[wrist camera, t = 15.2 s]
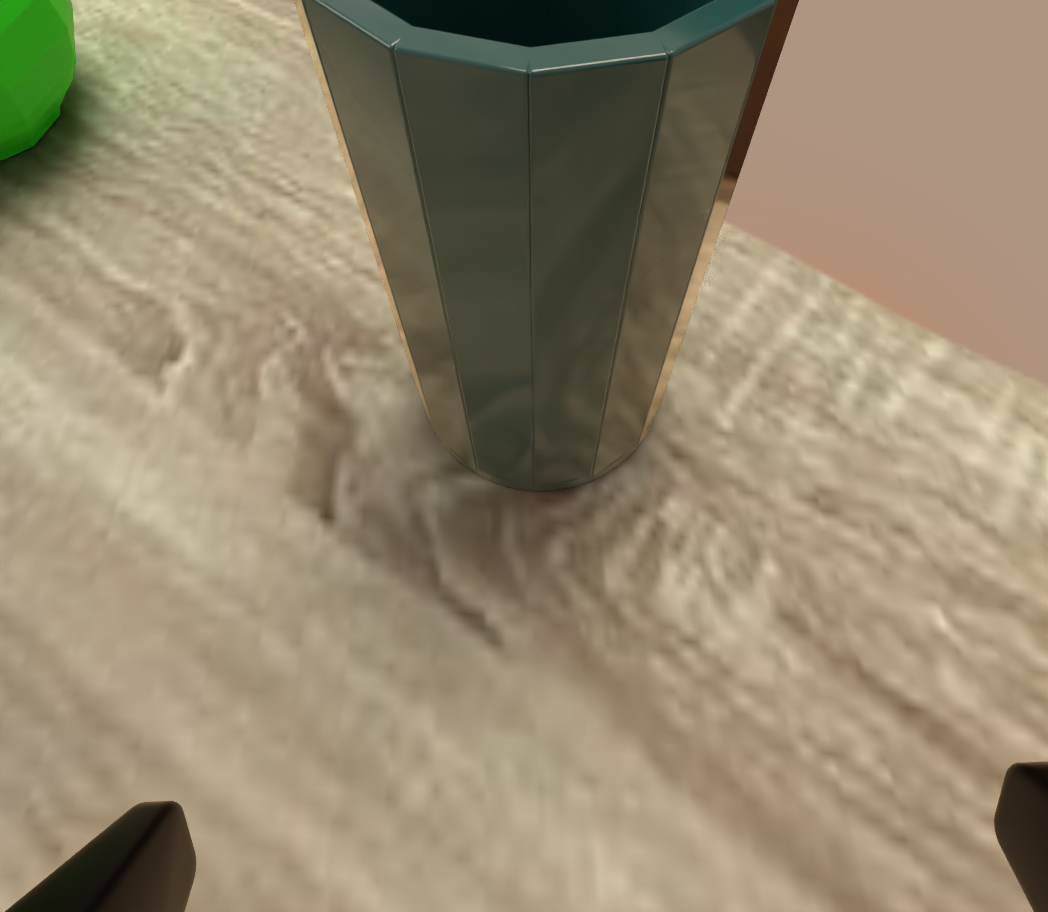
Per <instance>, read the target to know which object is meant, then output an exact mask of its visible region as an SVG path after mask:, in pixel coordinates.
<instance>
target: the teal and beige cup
mask: <svg viewBox="0 0 1048 912" xmlns="http://www.w3.org/2000/svg"><path fill="white" fill-rule="evenodd" d="M798 1H799V0H294V4H295V7H296V10H297V13H298V16H299V19H300V22H301V25H302V29H303V32H304V35H305V38H306V41H307V44H308V47H309V51H310V54H311V57H312V60H313V63H314V66H315V69H316V73H317V76H318V79H319V82H320V85H321V88H322V91H323V95H324V98H325V101H326V104H327V107H328V110H329V113H330V117H331V120H332V123H333V126H334V129H335V132H336V135H337V138H338V142H339V145H340V148H341V151H342V154H343V157H344V160H345V164H346V167H347V170H348V173H349V176H350V179H351V182H352V186H353V189H354V192H355V195H356V198H357V201H358V204H359V208H360V211H361V214H362V217H363V220H364V223H365V226H366V230H367V233H368V236H369V239H370V242H371V245H372V248H373V251H374V255H375V258H376V261H377V264H378V267H379V270H380V273H381V277H382V280H383V283H384V286H385V289H386V292H387V295H388V299H389V302H390V305H391V308H392V311H393V314H394V317H395V321H396V324H397V327H398V330H399V333H400V336H401V339H402V343H403V346H404V349H405V352H406V355H407V358H408V361H409V364H410V368H411V371H412V374H413V377H414V380H415V383H416V386H417V390H418V392H419V395H420V397H421V400H422V402H423V405H424V408H425V410H426V413H427V416H428V419H429V422H430V424H431V426H432V428H433V430H434V433H435V434H436V436H437V437H438V439H439V440H440V442H441V443H442V445H443V446H444V447H445V448H446V450H447V451H448V452H449V453H450V454H451V455H452V456H453V457H454V458H455V459H456V460H457V461H459V462H460V463H461V464H462V465H463V466H465V467H466V468H467V469H469V470H471V471H472V472H474V473H475V474H477V475H479V476H481V477H483V478H485V479H487V480H489V481H492V482H494V483H497V484H500V485H504V486H507V487H511V488H517V489H522V490H534V491H548V490H560V489H565V488H570V487H575V486H578V485H581V484H584V483H587V482H590V481H592V480H594V479H596V478H598V477H601V476H603V475H605V474H606V473H608V472H609V471H611V470H612V469H614V468H616V467H617V466H618V465H619V464H621V463H622V462H623V461H624V460H625V459H626V458H628V457H629V456H630V455H631V453H632V452H633V451H634V450H635V449H636V448H637V447H638V446H639V444H640V443H641V441H642V440H643V438H644V437H645V435H646V433H647V431H648V429H649V427H650V425H651V423H652V421H653V418H654V415H655V413H656V411H657V410H658V408H659V406H660V404H661V402H662V399H663V396H664V393H665V391H666V388H667V385H668V382H669V379H670V376H671V373H672V370H673V367H674V364H675V361H676V358H677V355H678V353H679V350H680V347H681V344H682V341H683V338H684V335H685V332H686V329H687V326H688V323H689V320H690V317H691V314H692V312H693V309H694V306H695V303H696V300H697V297H698V294H699V291H700V288H701V285H702V282H703V279H704V276H705V273H706V271H707V268H708V265H709V262H710V259H711V256H712V253H713V250H714V247H715V244H716V241H717V238H718V235H719V233H720V230H721V227H722V224H723V221H724V218H725V215H726V212H727V209H728V206H729V203H730V200H731V197H732V194H733V192H734V188H735V186H736V183H737V180H738V177H739V174H740V171H741V168H742V165H743V162H744V159H745V156H746V153H747V150H748V148H749V145H750V142H751V139H752V136H753V133H754V130H755V127H756V124H757V121H758V118H759V115H760V112H761V109H762V106H763V104H764V101H765V98H766V95H767V92H768V89H769V86H770V83H771V80H772V77H773V74H774V72H775V68H776V66H777V63H778V60H779V57H780V54H781V51H782V48H783V45H784V42H785V39H786V36H787V33H788V31H789V28H790V25H791V22H792V19H793V16H794V13H795V10H796V7H797V4H798Z"/></svg>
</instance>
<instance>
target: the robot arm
mask: <svg viewBox="0 0 1048 912" xmlns="http://www.w3.org/2000/svg"><path fill="white" fill-rule="evenodd" d="M994 826H995V832H996V836H997V839H998V842H999V844H1000V846H1001V848H1002V850H1003V852H1004V854H1005V856H1006V858H1007V860H1008V862H1009V864H1010V866H1011V868H1012V870H1013V872H1014V874H1015V876H1016V878H1017V880H1018V882H1019V884H1020V885H1021V887H1022V889H1023V891H1024V893H1025V895H1026V897H1027V899H1028V901H1029V903H1030V905H1031V907H1032V909H1033V911H1034V912H1048V762H1028V763H1016V764H1013V765H1012V766H1011V767H1009V769H1008V770H1007V772H1006V775H1005V778H1004V782H1003V786H1002V790H1001V794H1000V798H999V801H998V805H997V809H996V813H995V818H994ZM195 871H196V855H195V851H194V847H193V843H192V840H191V836H190V833H189V829H188V826H187V822H186V819H185V815H184V812H183V809H182V807H181V806H180V805H179V804H178V803H177V802H174V801H162V802H144V803H140V804H138V805H136V806H134V807H133V808H131V809H130V810H129V811H127V812H126V813H125V814H124V815H122V816H121V817H120V818H119V819H118V820H116V821H115V822H114V823H113V824H111V825H110V826H109V827H108V828H107V829H105V830H104V831H103V832H102V833H100V834H99V835H98V836H97V837H96V838H94V839H93V840H92V841H91V842H89V843H88V844H87V845H86V846H85V847H83V848H82V849H81V850H80V851H78V852H77V853H76V854H75V855H74V856H72V857H71V858H70V859H69V860H67V861H66V862H65V863H64V864H63V865H61V866H60V867H59V868H58V869H56V870H55V871H54V872H53V873H52V874H50V875H49V876H48V877H47V878H46V879H44V880H43V881H42V882H41V883H39V884H38V885H37V886H36V887H35V888H33V889H32V890H31V891H30V892H28V893H27V894H26V895H25V896H24V897H22V898H21V899H20V900H19V901H17V902H16V903H15V904H14V905H13V906H11V907H10V908H9V909H8V910H6V911H5V912H184V911H185V908H186V905H187V901H188V898H189V895H190V891H191V888H192V885H193V881H194V877H195Z"/></svg>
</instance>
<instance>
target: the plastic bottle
mask: <svg viewBox="0 0 1048 912" xmlns="http://www.w3.org/2000/svg"><path fill="white" fill-rule="evenodd" d="M75 62H76V59H75V41H74V22H73V8H72V3H71V0H0V161H2V160H4V159H7V158H9V157H11V156H13V155H16V154H18V153H20V152H22V151H25V150H27V149H29V148H31V147H33V146H34V145H35V144H36V143H37V142H38V141H39V139H40V138H41V137H42V136H43V135H44V134H45V132H46V131H47V130H48V129H49V128H50V127H51V125H52V124H53V123H54V122H55V121H56V120H57V118H58V117H59V116H60V104H61V103H62V102H63V99H64V97H65V94H66V92H67V90H68V88H69V86H70V84H71V83H72V80H73V74H74V68H75Z"/></svg>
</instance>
